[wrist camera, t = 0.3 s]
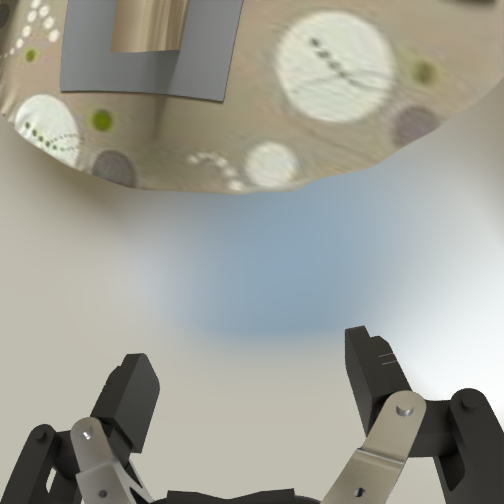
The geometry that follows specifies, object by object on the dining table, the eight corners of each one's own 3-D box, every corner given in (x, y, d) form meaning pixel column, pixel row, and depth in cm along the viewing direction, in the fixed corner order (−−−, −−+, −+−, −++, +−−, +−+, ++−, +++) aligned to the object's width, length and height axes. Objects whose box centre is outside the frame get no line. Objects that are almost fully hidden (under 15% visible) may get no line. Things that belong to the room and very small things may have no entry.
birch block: (191, -7, 25) (152, -29, 15) (180, 49, 29) (138, 52, 19) (166, -7, 24) (119, -26, 15) (157, 48, 29) (106, 52, 19)
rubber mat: (253, -42, 22) (252, -43, 22) (223, 100, 33) (223, 101, 32) (77, -35, 21) (75, -35, 20) (61, 90, 31) (59, 90, 31)
